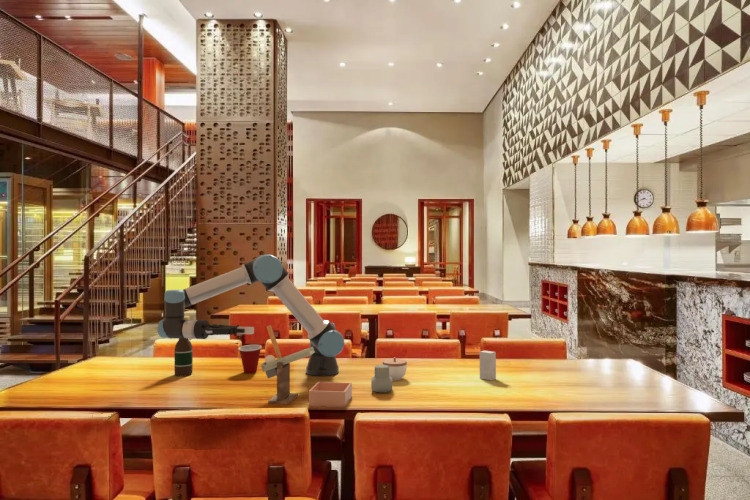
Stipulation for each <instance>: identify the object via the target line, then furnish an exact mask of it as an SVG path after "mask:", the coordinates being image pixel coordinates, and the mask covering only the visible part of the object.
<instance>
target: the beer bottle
mask: <svg viewBox="0 0 750 500" xmlns="http://www.w3.org/2000/svg"><path fill="white" fill-rule="evenodd" d="M193 350H194V349H193V345H192V342H191V340H189V338H188V339H187V338H186V339H184V338H178V341H177V342H176V344H175V346H174V376H176V377H187V376H191V375H192V374H193V361H194V360H193V357H194V356H193Z"/></svg>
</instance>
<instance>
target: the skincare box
mask: <svg viewBox="0 0 750 500" xmlns="http://www.w3.org/2000/svg"><path fill="white" fill-rule="evenodd" d="M478 354H479V379H480V380H485V381H494V380H496V379H497V357H496V356H497V353H496V351H492V350H491V351H490V350H482V351H479V353H478Z"/></svg>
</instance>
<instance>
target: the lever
mask: <svg viewBox="0 0 750 500" xmlns="http://www.w3.org/2000/svg"><path fill="white" fill-rule="evenodd" d="M266 330H267V333H268V335H269V338H270V341H271V344H272V346H273V350H274V353H275V355H276V358H277V359H276V358H275V361H274V362H272V363H269V364H266V363H265V361H263V362H262V363H260V366H261V370H262V372H263V373H265V375H266V377H267V379H271V378H273V377H277V362H283V366H284V365H285V364H287V363H290V364H291V363H293V362H297V361H298V360H301V359H304V358H308V357H310V355H312V354H313V353H315V351H314V348H313V347H311V348H310V347H308V348H305V349H302V350H300V351H297V352H294V353H291V354H288V355H285V356H283V357H282V354H281V350H280V347H279V345H278V342H277V339H276V336H275V334H274V330H273V327H272V325H271V324H270V325H267V326H266Z"/></svg>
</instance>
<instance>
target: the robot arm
mask: <svg viewBox="0 0 750 500" xmlns="http://www.w3.org/2000/svg"><path fill="white" fill-rule="evenodd" d="M289 277H290V273H289V272H288V270H287V269H286V268H285V267H284V266H283V264H282V261H281V260H280V258H278V257H277V256H275V255H273V254H268V253H267V254H260V255H258V256H257V257H255V258H253V259H252V260H249V261H247V262H244V263H242V265H241V267H238V268H235V269H233V270H230V271H228V272H226V273H223V274H219V275H217V276H215V277H212V278H210V279H207V280H204V281H201V282H199V283H196V284H194V285H192V286H188V287H187V288H184V289H167V290H165V292H164V299H163V300H164V317H163V319H161V320H160V321H158V325H157V334H158V335H159V337H161V338H166V339H170V340H171V339H179V338H184V339H186V338H187V339H189V341H191V340H192V339H194V340H195V339H197V340H206V339H207V338H208V337H209V336H218V335H219V336H221V335H222V336H225V335H227V336H232V335H234V337H236V336H237V335H254V334H255V326H240V324H236V325H227V324H226V325H225V324H221V323H220V324H215V323H212V324H210V322H209V320H207V319H185V308H187V307H190V306H192V305H195V304H198V303H200V302H202V301H205V300H209V299H210V298H212V297H215V296H218V295H221V294H223V293H225V292H226V293H227V292H228V291H231V290H233V289H235V288H238V287H241V286H243V285H247V284H250V285H252V284H255V283H259V282H260V284H261V285H262V286H263V287H264V289H266V290H267V292H273V293H274V295H275V296H276V297H277V298H278V299H279V301H281V303H282V304H283V305H284V306H285V307H286V309H288V311H289V312H290V313H291V315H292V316H294V318H295V320H297V322H299V324H300V325H301V326H302V327H303V329H305V331H306V332H307V339H308V340H309V348H311V347H313V348H314V351H315V353H313V354H312V355H310V356H309V359H308V360H307V361H308V362H307V365H306V368H305V373H306V374H307V375H310V376H315V377H325V376H326V377H327V376H328V377H329V376H333V375H336V374H338V373H339V372H340V371H339V370H340V369H339V368H340V367H339V365H338V361H337V358H336V356H337V355H339V354H341V352H342V351H343V350H344V347H345V339H344V337H343V334H342V333H341V332H339V331H338V330H337V329H336V325H335V323H334V322H330V321H329V320H328V319H323V317H321V315H320V314H319V313H318V312H317V311H316V309H315V308H314V307H313V306H312V304H311V303H310V302H309V301H308V300H307V299H306V297H305V296H304V295H303V294H302V293H301V291H299V289H298V287H296V285H295V284H294V283H293V282H292V281H291V280H290V278H289Z"/></svg>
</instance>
